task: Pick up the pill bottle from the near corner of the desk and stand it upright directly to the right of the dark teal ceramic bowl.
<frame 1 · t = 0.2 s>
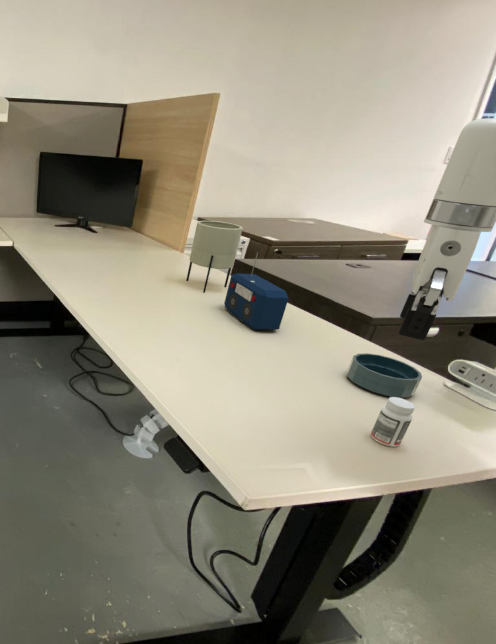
hand: (411, 327, 73), 25 cm above the table, tool pointing down, fingers open, 9 cm apart
planter: (206, 287, 174), on the table
bowl: (378, 384, 110), on the table
radio: (247, 320, 145), on the table
pill bottle: (384, 440, 89), on the table
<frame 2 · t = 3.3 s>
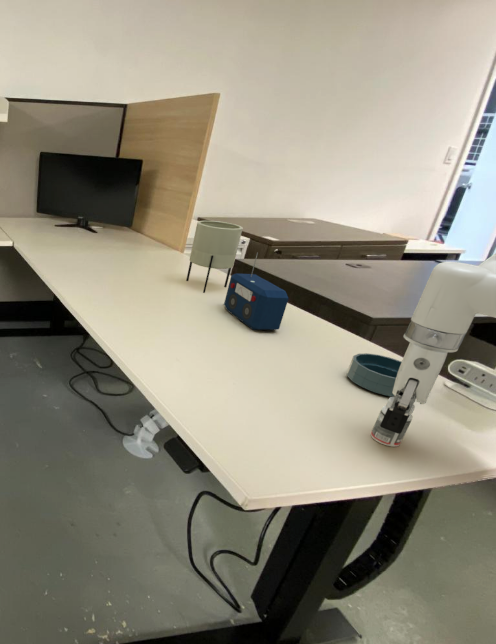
hand: (392, 423, 87), 4 cm above the table, tool pointing down, fingers closed on pill bottle, 4 cm apart
pill bottle: (384, 440, 89), on the table, touching gripper
everything else where it was.
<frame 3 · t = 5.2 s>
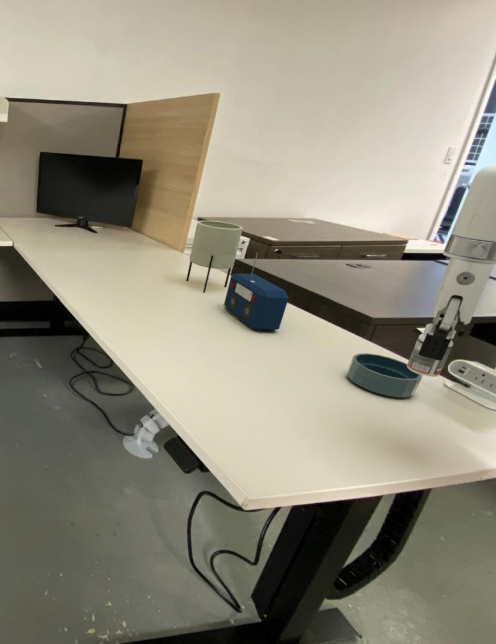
hand: (431, 351, 81), 19 cm above the table, tool pointing down, fingers closed on pill bottle, 4 cm apart
pill bottle: (421, 372, 83), point 15 cm above the table, touching gripper
everything else where it was.
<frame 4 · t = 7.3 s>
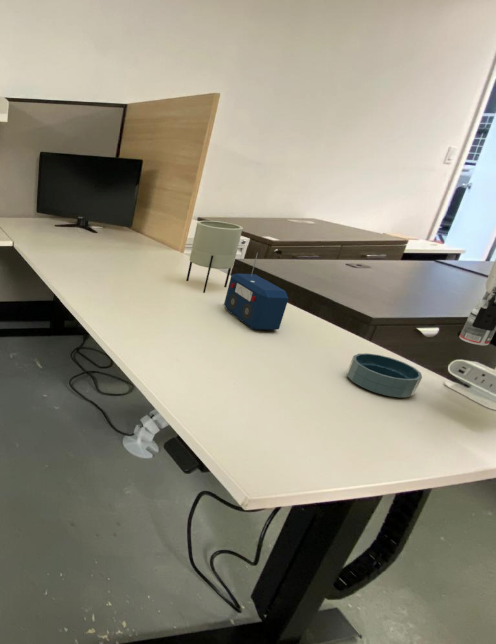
hand: (482, 324, 94), 20 cm above the table, tool pointing down, fingers closed on pill bottle, 4 cm apart
pill bottle: (472, 342, 95), point 16 cm above the table, touching gripper
everything else where it was.
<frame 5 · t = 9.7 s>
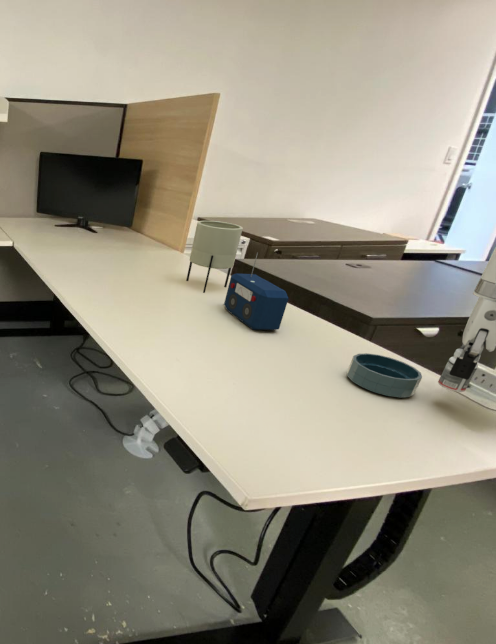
hand: (459, 371, 99), 8 cm above the table, tool pointing down, fingers closed on pill bottle, 4 cm apart
pill bottle: (450, 387, 101), point 4 cm above the table, touching gripper
everything else where it was.
when the fingers open (4 cm above the table, at t = 11.3 s): pill bottle stays where it is, on the table.
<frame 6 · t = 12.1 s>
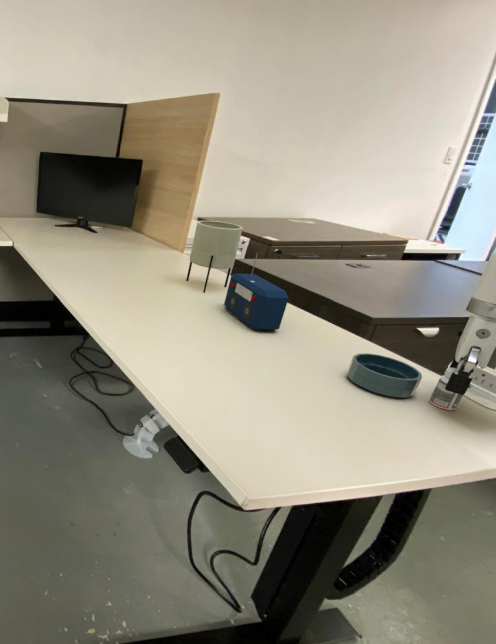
hand: (454, 384, 100), 5 cm above the table, tool pointing down, fingers open, 9 cm apart
pill bottle: (441, 405, 103), on the table
everything else where it was.
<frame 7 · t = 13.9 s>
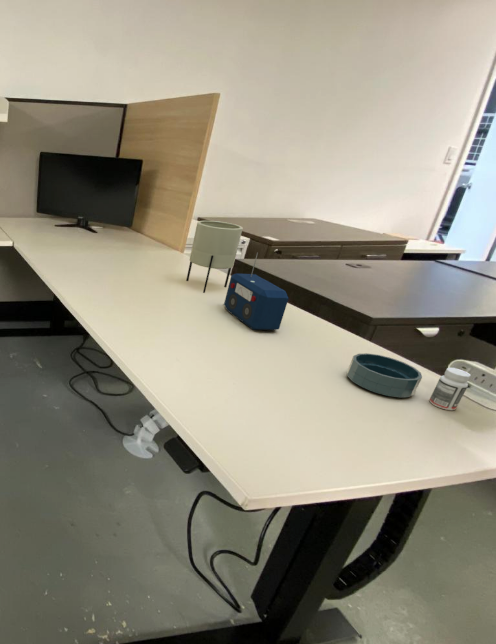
nothing on the table moved.
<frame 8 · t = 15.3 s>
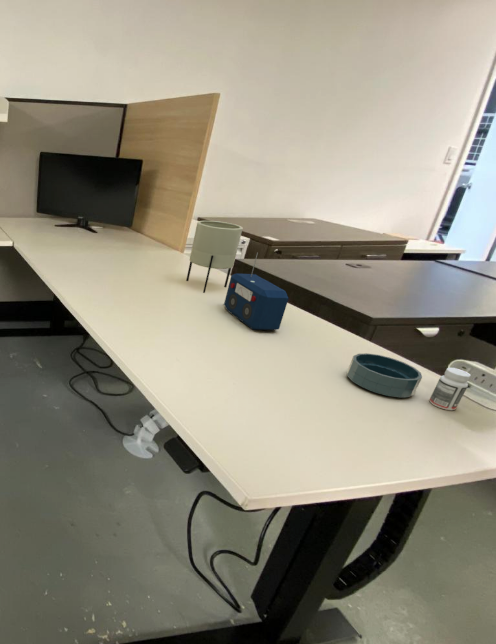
nothing on the table moved.
at the end: pill bottle inside the target area on the table beside the bowl (0.1 cm from its centre), on the table; pill bottle tilted 0° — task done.
